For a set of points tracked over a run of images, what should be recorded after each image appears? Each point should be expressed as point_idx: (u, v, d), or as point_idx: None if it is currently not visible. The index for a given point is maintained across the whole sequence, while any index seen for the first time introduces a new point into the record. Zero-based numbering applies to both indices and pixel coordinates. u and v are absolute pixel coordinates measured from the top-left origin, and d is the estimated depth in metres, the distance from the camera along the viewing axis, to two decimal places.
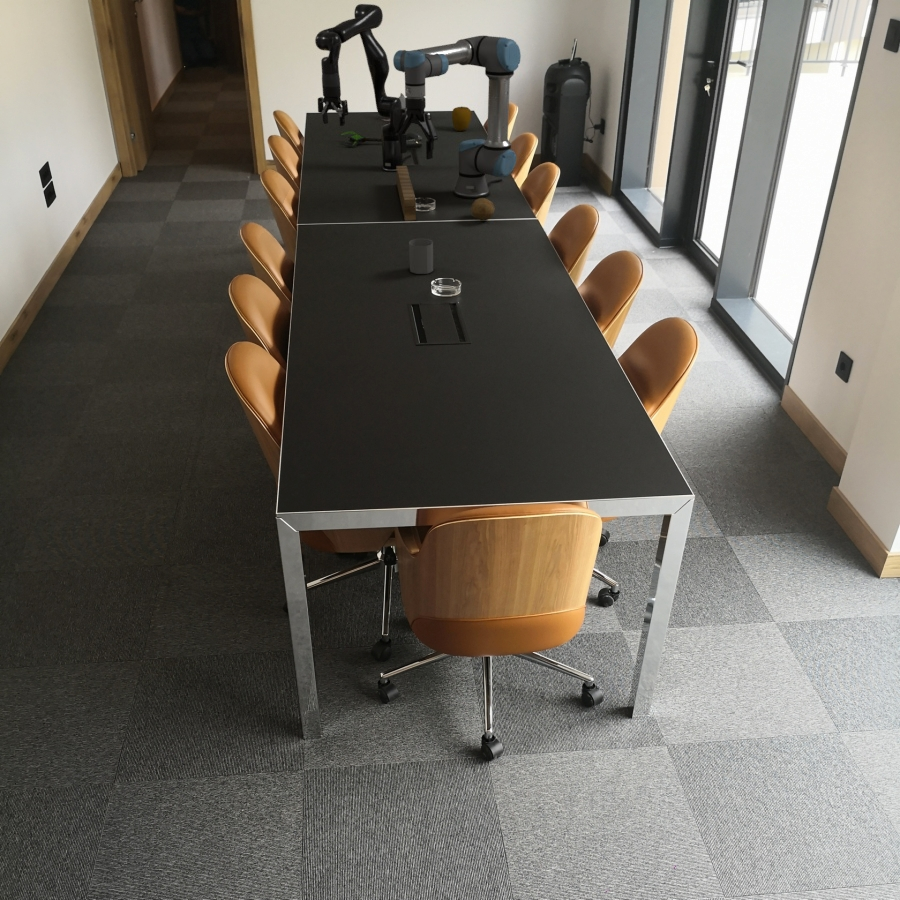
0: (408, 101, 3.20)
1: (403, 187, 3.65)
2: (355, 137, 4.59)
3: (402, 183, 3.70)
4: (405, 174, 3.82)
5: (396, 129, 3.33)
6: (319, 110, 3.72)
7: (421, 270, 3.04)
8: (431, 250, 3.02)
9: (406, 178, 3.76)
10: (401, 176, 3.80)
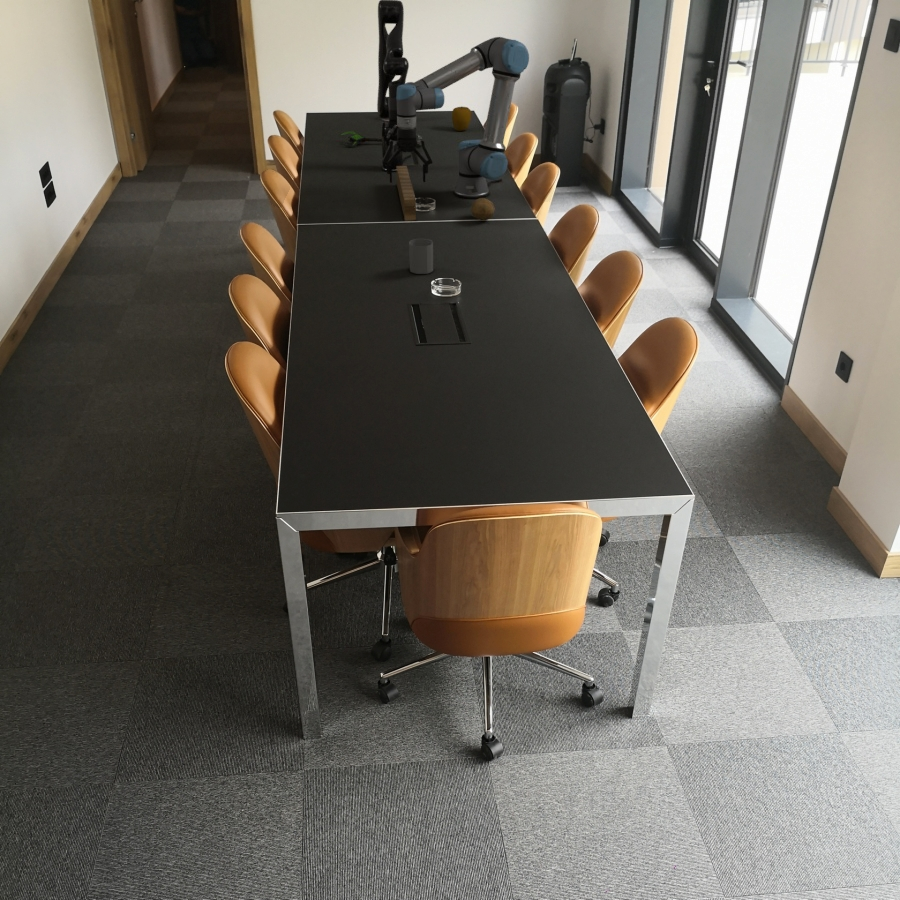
0: (407, 132, 3.40)
1: (403, 187, 3.65)
2: (355, 137, 4.59)
3: (402, 183, 3.70)
4: (405, 174, 3.82)
5: (384, 161, 3.47)
6: None
7: (421, 270, 3.04)
8: (431, 250, 3.02)
9: (406, 178, 3.76)
10: (401, 176, 3.80)
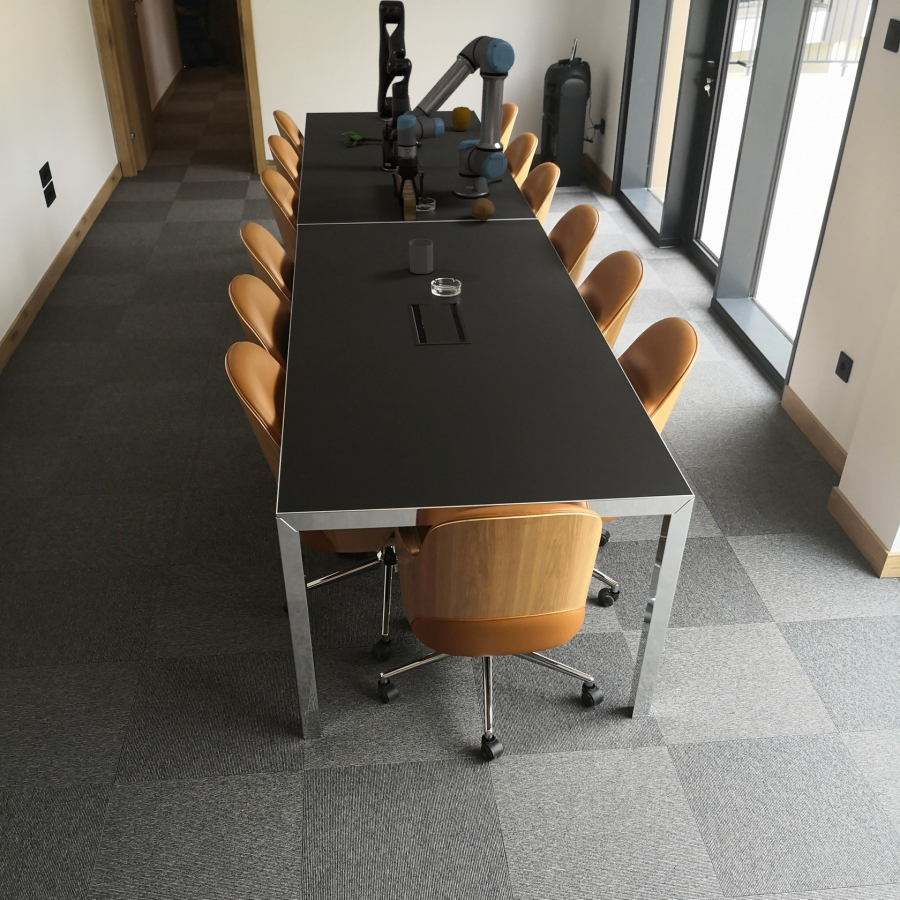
0: (408, 161, 3.46)
1: None
2: (355, 137, 4.59)
3: None
4: None
5: (395, 194, 3.55)
6: None
7: (421, 270, 3.04)
8: (431, 250, 3.02)
9: None
10: None
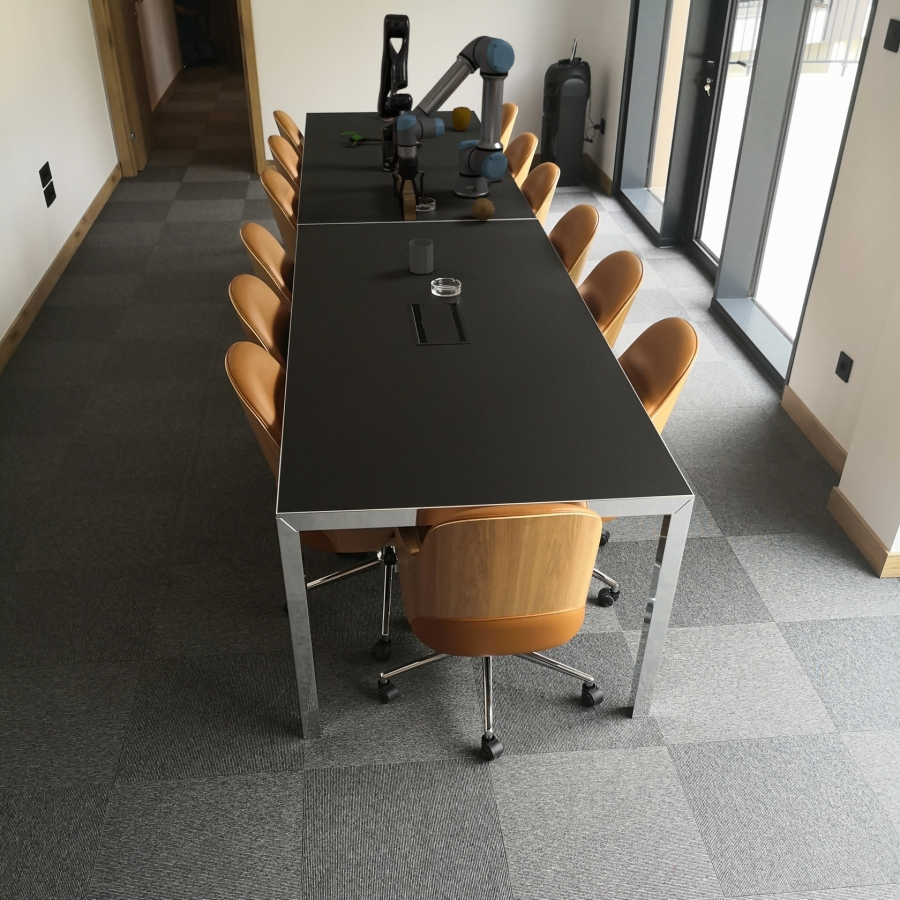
0: (408, 161, 3.46)
1: None
2: (355, 137, 4.59)
3: None
4: None
5: (395, 194, 3.55)
6: None
7: (421, 270, 3.04)
8: (431, 250, 3.02)
9: None
10: None
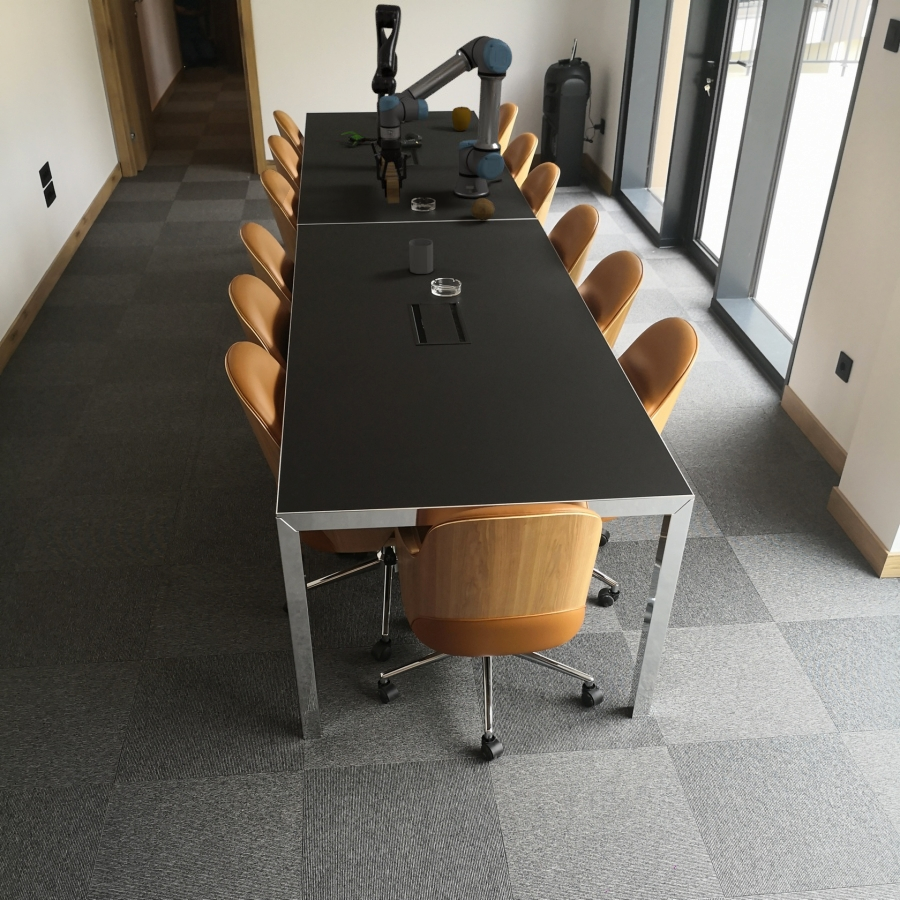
0: (390, 142, 3.43)
1: (386, 170, 3.61)
2: (355, 137, 4.59)
3: None
4: None
5: (378, 176, 3.51)
6: None
7: (421, 270, 3.04)
8: (431, 250, 3.02)
9: (390, 162, 3.73)
10: None
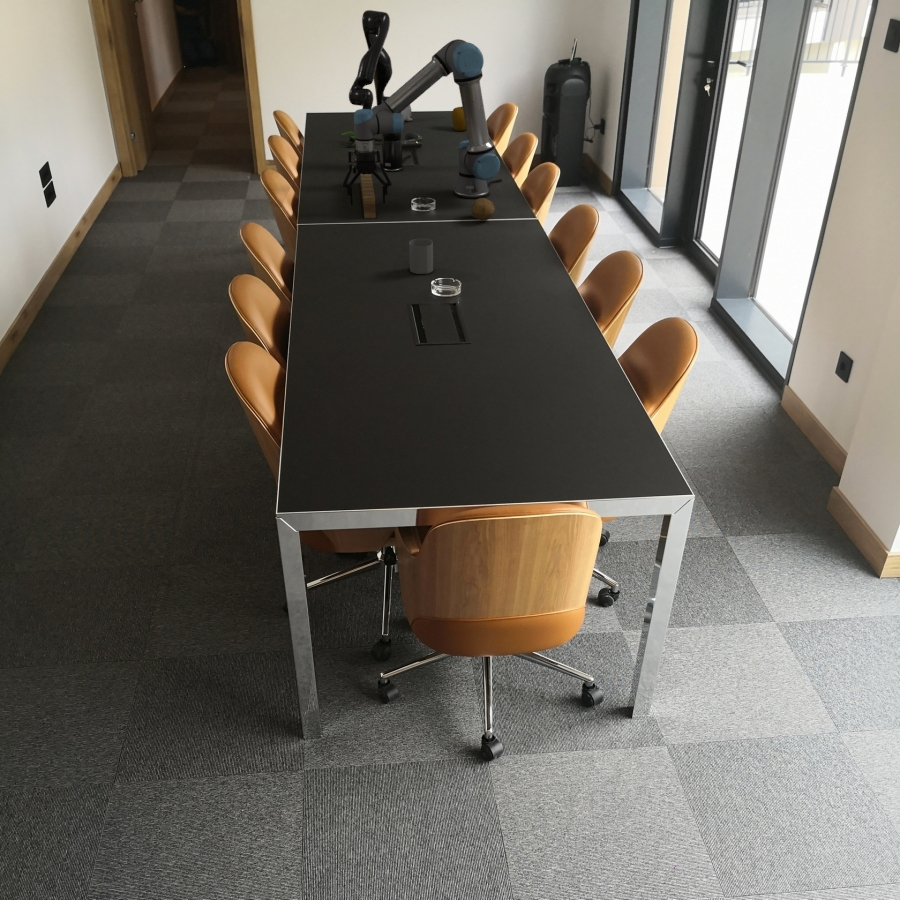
0: (365, 155, 3.47)
1: (364, 185, 3.67)
2: None
3: (363, 181, 3.72)
4: None
5: (344, 183, 3.54)
6: None
7: (421, 270, 3.04)
8: (431, 250, 3.02)
9: (368, 176, 3.79)
10: None
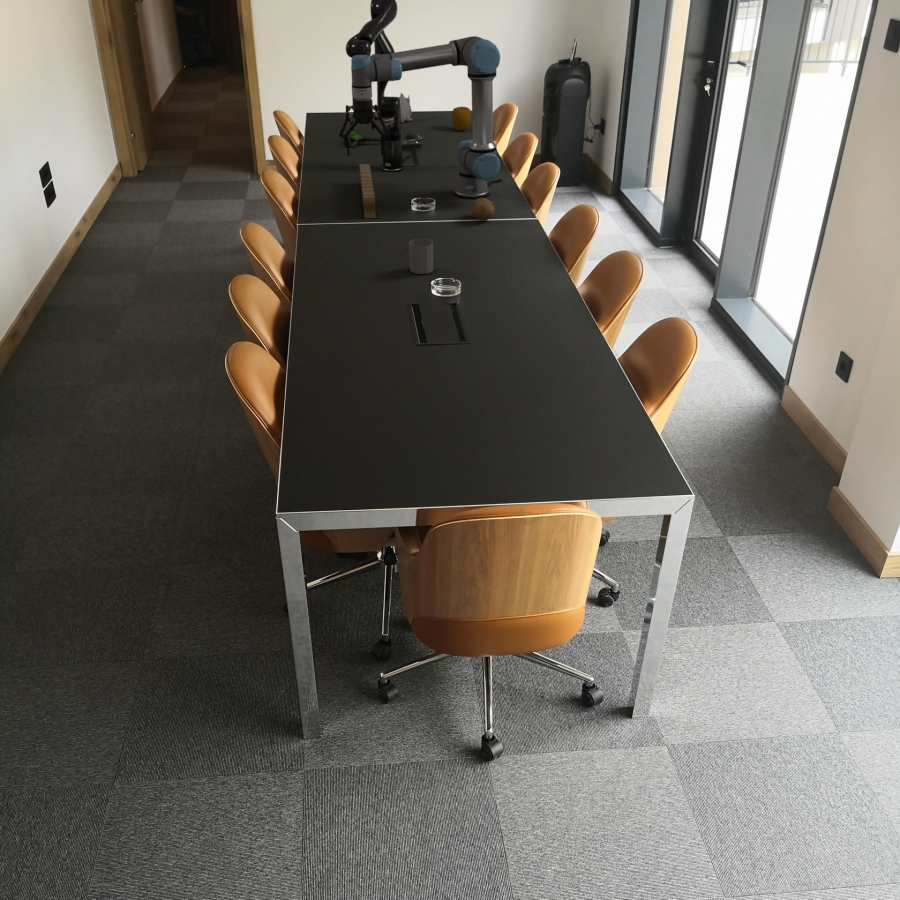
0: (363, 103, 3.36)
1: (364, 185, 3.67)
2: (355, 137, 4.59)
3: (363, 181, 3.72)
4: (367, 172, 3.84)
5: (341, 133, 3.43)
6: None
7: (421, 270, 3.04)
8: (431, 250, 3.02)
9: (368, 176, 3.79)
10: (363, 174, 3.82)
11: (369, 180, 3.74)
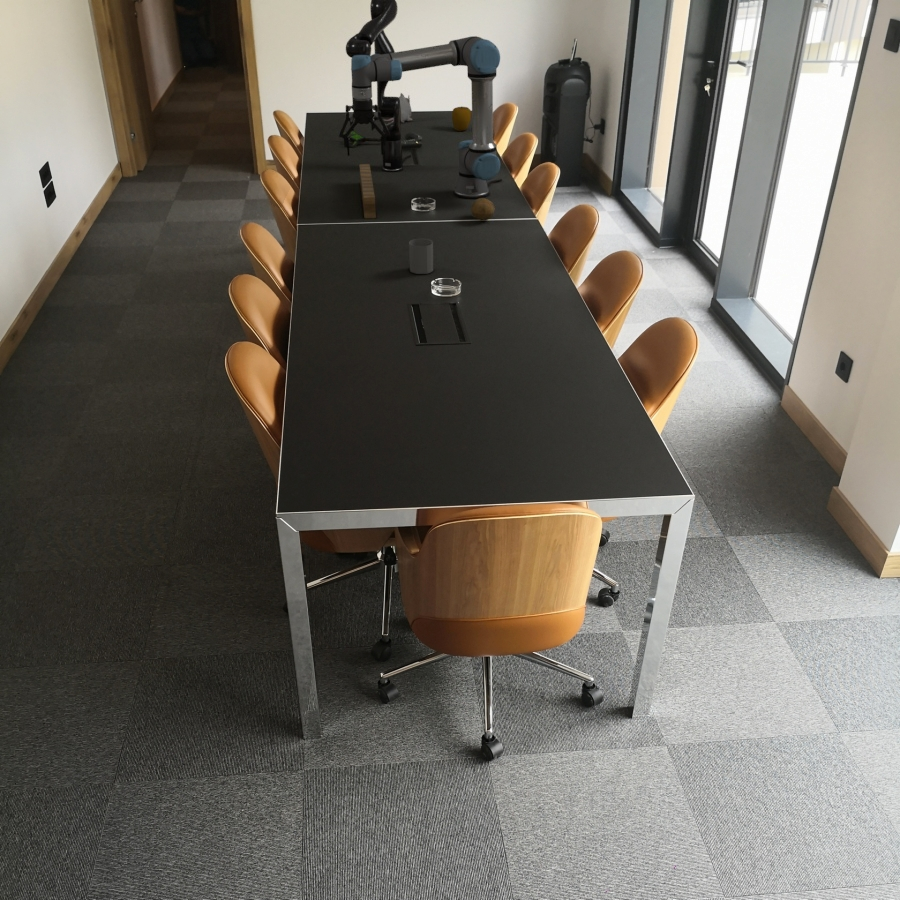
0: (363, 103, 3.36)
1: (364, 185, 3.67)
2: (355, 137, 4.59)
3: (363, 181, 3.72)
4: (367, 172, 3.84)
5: (341, 133, 3.43)
6: None
7: (421, 270, 3.04)
8: (431, 250, 3.02)
9: (368, 176, 3.79)
10: (363, 174, 3.82)
11: (369, 180, 3.74)
